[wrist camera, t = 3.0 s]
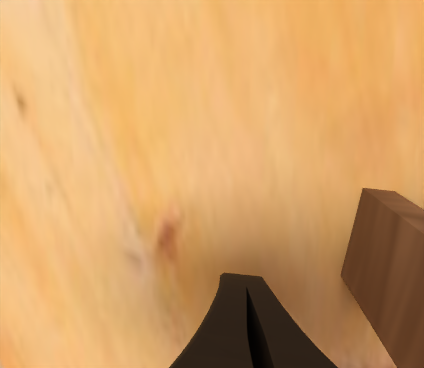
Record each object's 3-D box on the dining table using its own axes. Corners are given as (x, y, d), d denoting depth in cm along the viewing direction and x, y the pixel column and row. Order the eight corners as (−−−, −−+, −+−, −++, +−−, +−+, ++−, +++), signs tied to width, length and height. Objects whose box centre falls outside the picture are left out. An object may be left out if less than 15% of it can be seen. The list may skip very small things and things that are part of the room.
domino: (340, 275, 18) (429, 419, 10) (362, 188, 16) (485, 280, 9) (369, 278, 18) (479, 424, 10) (394, 191, 16) (545, 287, 9)
